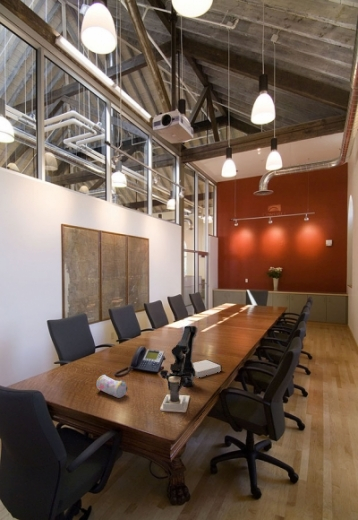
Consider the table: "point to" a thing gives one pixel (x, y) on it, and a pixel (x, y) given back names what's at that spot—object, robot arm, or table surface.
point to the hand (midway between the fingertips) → (173, 390)
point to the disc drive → (206, 368)
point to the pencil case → (111, 386)
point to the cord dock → (175, 407)
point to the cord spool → (174, 390)
